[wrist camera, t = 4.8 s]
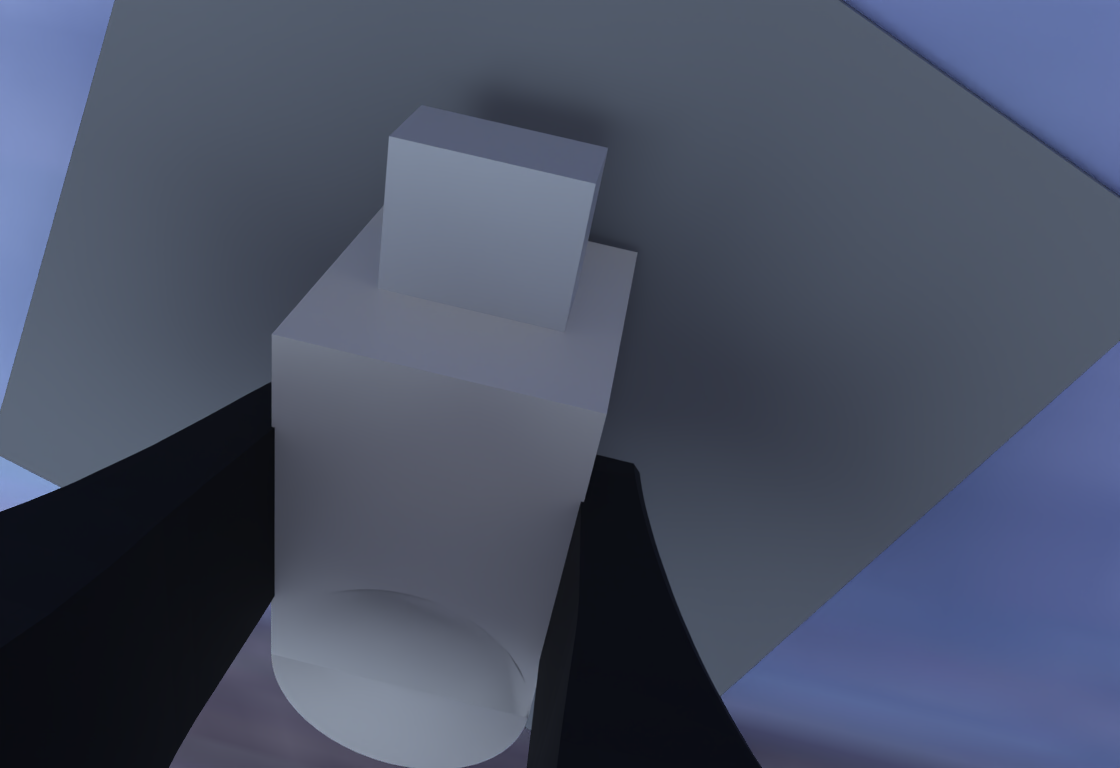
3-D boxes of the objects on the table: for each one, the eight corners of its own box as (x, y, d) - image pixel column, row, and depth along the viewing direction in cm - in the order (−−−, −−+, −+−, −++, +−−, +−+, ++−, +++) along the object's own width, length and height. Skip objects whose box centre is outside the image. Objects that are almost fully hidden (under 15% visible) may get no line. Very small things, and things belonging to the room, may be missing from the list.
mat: (628, 755, 19) (626, 779, 19) (10, 432, 17) (-11, 450, 17) (1188, 244, 12) (1208, 261, 12) (258, -412, 10) (233, -427, 10)
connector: (552, 590, 16) (508, 793, 13) (364, 544, 16) (270, 733, 13) (669, 124, 11) (648, 253, 8) (402, 64, 11) (272, 165, 8)
